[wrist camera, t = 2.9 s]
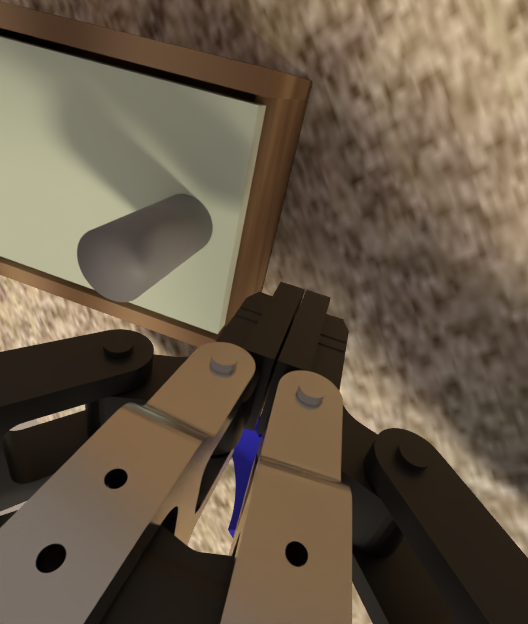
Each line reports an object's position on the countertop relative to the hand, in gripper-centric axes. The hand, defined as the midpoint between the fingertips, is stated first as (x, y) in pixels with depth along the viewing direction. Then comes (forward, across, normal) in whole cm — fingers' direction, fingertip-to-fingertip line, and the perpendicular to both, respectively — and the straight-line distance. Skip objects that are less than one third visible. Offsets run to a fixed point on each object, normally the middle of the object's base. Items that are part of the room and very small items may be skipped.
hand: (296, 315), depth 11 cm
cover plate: (+5, +11, 0) cm, 12 cm away
